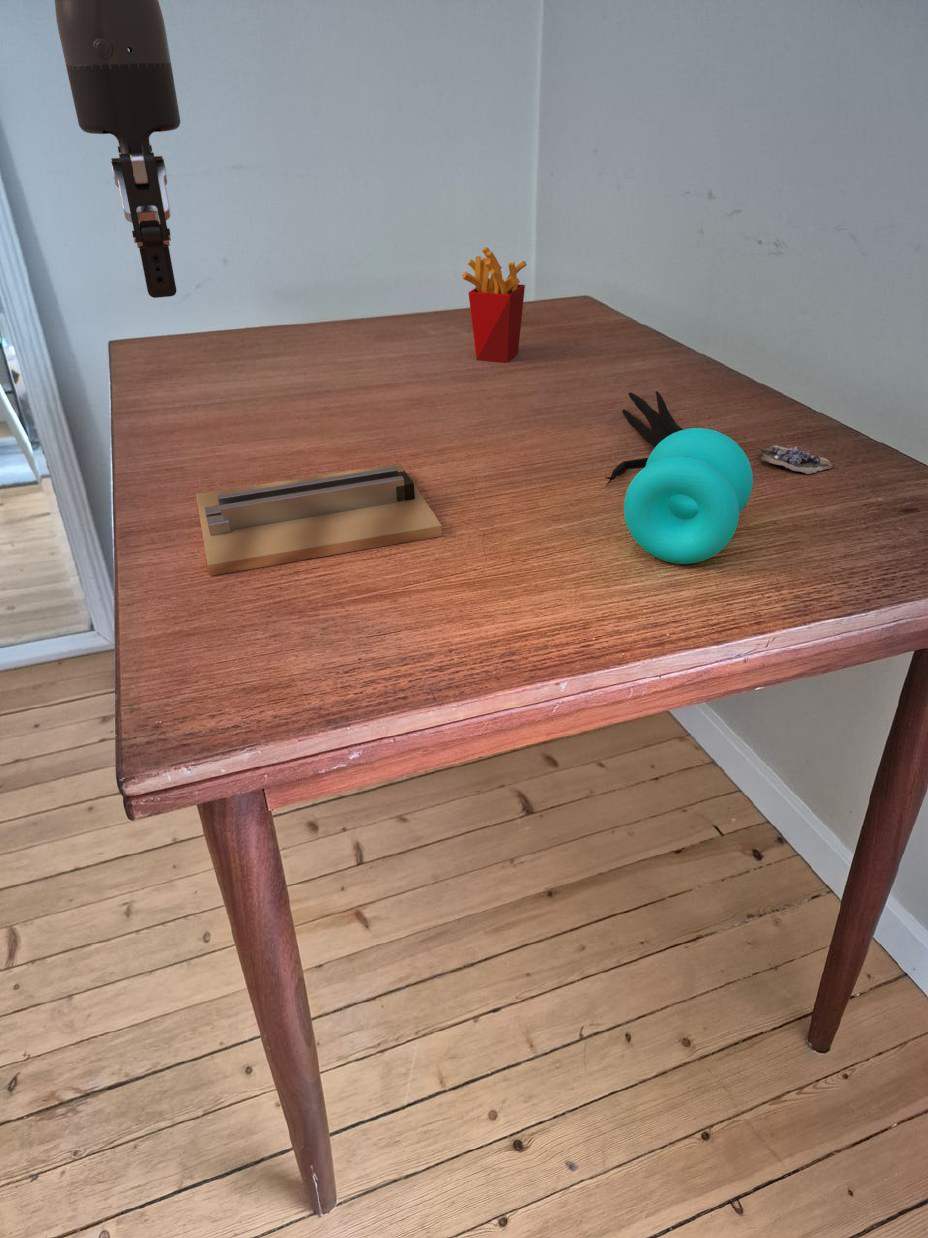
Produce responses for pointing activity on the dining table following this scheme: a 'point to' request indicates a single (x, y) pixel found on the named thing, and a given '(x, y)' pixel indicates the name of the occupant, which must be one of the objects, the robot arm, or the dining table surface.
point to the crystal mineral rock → (794, 459)
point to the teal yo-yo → (689, 496)
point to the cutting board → (315, 531)
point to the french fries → (495, 308)
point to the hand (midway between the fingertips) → (161, 285)
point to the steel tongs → (308, 499)
